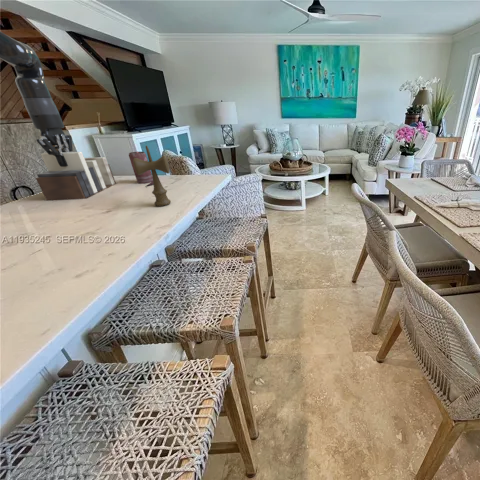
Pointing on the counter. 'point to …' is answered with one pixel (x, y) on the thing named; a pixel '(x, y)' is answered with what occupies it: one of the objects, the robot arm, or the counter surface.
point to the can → (145, 176)
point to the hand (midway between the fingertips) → (66, 165)
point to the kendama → (154, 175)
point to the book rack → (76, 181)
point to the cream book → (69, 164)
